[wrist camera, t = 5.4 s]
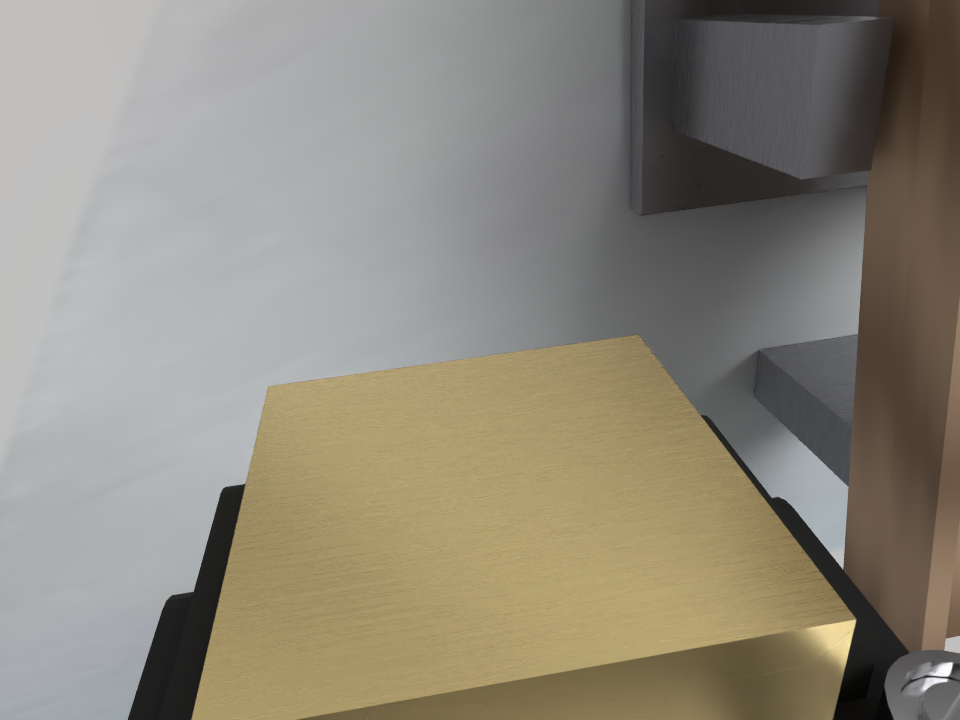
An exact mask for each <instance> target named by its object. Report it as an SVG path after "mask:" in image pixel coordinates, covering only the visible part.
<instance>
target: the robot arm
mask: <svg viewBox="0 0 960 720" xmlns="http://www.w3.org/2000/svg"><path fill="white" fill-rule="evenodd" d="M701 417H702V418H703V419H704V421H705V422H706V423H707V425H708V426H709V427H710V429H711V430H712V431H713V432H714V434H715V435H716V436H717V438H718V439H719V440H720V442H721V443H722V444H723V446H724V447H725V448H726V449H727V451H728V452H729V453H730V455H731V456H732V457H733V459H734V460H735V461H736V462H737V464H738V465H739V466H740V468H741V469H742V470H743V472H744V473H745V474H746V476H747V477H748V478H749V479H750V481H751V482H752V483H753V485H754V486H755V487H756V489H757V490H758V491H759V493H760V494H761V495H762V496H763V498H764V499H765V500H766V502H767V503H768V504H769V506H770V507H771V508H772V510H773V511H774V512H775V513H776V515H777V516H778V517H779V519H780V520H781V521H782V523H783V524H784V525H785V527H786V528H787V529H788V530H789V532H790V533H791V534H792V536H793V537H794V538H795V540H796V541H797V542H798V544H799V545H800V546H801V547H802V549H803V550H804V551H805V553H806V554H807V555H808V557H809V558H810V559H811V560H812V562H813V563H814V564H815V566H816V567H817V568H818V570H819V571H820V572H821V574H822V575H823V576H824V577H825V579H826V580H827V581H828V583H829V584H830V585H831V587H832V588H833V589H834V591H835V592H836V593H837V594H838V596H839V597H840V598H841V600H842V601H843V602H844V604H845V605H846V606H847V608H848V609H849V610H850V611H851V613H852V614H853V615H854V617H855V618H856V624H855V628H854V632H853V636H852V640H851V645H850V649H849V653H848V657H847V662H846V666H845V670H844V674H843V678H842V683H841V687H840V691H839V695H838V699H837V704H836V708H835V712H834V716H833V720H960V653H954V652H948V651H943V650H922V651H915V652H912V653H910V652H909V651H908V650H907V649H906V647H905V646H904V645H903V644H902V642H901V641H900V640H899V639H898V637H897V636H896V635H895V634H894V632H893V631H892V630H891V629H890V627H889V626H888V625H887V624H886V622H885V621H884V620H883V619H882V618H881V616H880V615H879V614H878V613H877V611H876V610H875V609H874V608H873V606H872V605H871V604H870V603H869V601H868V600H867V599H866V598H865V596H864V595H863V594H862V593H861V591H860V590H859V589H858V588H857V586H856V585H855V584H854V583H853V581H852V580H851V579H850V578H849V577H848V575H847V574H846V573H845V572H844V570H843V569H842V568H841V567H840V566H839V564H838V563H837V562H836V560H835V559H834V558H833V557H832V556H831V554H830V553H829V552H828V550H827V549H826V548H825V547H824V545H823V544H822V543H821V542H820V541H819V539H818V538H817V537H816V536H815V534H814V533H813V532H812V531H811V529H810V528H809V527H808V526H807V524H806V523H805V522H804V521H803V519H802V518H801V517H800V516H799V514H798V513H797V512H796V511H795V509H794V508H793V507H792V506H791V505H790V504H789V503H788V502H787V501H786V500H784V499H781V498H779V497H776V498H771V496H770V495H769V494H768V493H767V491H766V490H765V489H764V487H763V486H762V485H761V484H760V482H759V481H758V480H757V478H756V477H755V476H754V475H753V473H752V472H751V471H750V470H749V468H748V467H747V466H746V464H745V463H744V462H743V461H742V459H741V458H740V457H739V455H738V454H737V453H736V452H735V450H734V449H733V448H732V446H731V445H730V444H729V443H728V441H727V440H726V439H725V437H724V436H723V435H722V434H721V432H720V431H719V430H718V428H717V427H716V426H715V425H714V423H713V422H712V421H711V420H710V419H709V418H708V417H707V416H704V415H701ZM245 485H246V484H243V485H236V486H230V487H225V488H223V490H222V492H221V494H220V498H219V502H218V505H217V509H216V513H215V516H214V520H213V524H212V527H211V531H210V534H209V538H208V542H207V545H206V549H205V553H204V556H203V560H202V564H201V567H200V571H199V575H198V578H197V582H196V586H195V589H194V592H190V593H184V594H178V595H172V596H171V597H170V598H169V599H168V600H167V601H166V603H165V605H164V608H163V610H162V613H161V616H160V619H159V622H158V625H157V629H156V632H155V635H154V638H153V641H152V644H151V647H150V651H149V654H148V657H147V660H146V663H145V666H144V670H143V673H142V676H141V679H140V682H139V685H138V689H137V692H136V695H135V698H134V701H133V704H132V708H131V711H130V714H129V717H128V720H191V719H192V715H193V711H194V706H195V702H196V698H197V693H198V689H199V685H200V680H201V676H202V672H203V667H204V663H205V659H206V654H207V650H208V646H209V641H210V637H211V633H212V628H213V624H214V620H215V615H216V611H217V607H218V602H219V598H220V594H221V589H222V585H223V581H224V576H225V572H226V568H227V563H228V559H229V555H230V550H231V546H232V542H233V537H234V533H235V529H236V524H237V520H238V516H239V511H240V507H241V503H242V498H243V494H244V490H245Z"/></svg>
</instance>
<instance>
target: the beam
mask: <svg viewBox="0 0 960 720" xmlns="http://www.w3.org/2000/svg"><path fill="white" fill-rule="evenodd" d="M878 17H895V19H894V25H893V31H892V38H891V44H890V51H889V57H888V64H887V70H886V77H885V83H884V90H883V96H882V102H881V109H880V115H879V122H878V128H877V135H876V141H875V148H874V154H873V160H872V167H871V170H869V171H868V185H867V201H866V217H865V233H864V249H863V265H862V281H861V297H860V313H859V329H858V345H857V361H856V377H855V393H854V409H853V425H852V441H851V457H850V473H849V489H848V505H847V521H846V537H845V553H844V568H843V570H844V572H845V573H846V574H847V575H848V577H849V578H850V579H851V580H852V581H853V583H854V584H855V585H856V586H857V588H858V589H859V590H860V591H861V593H862V594H863V595H864V596H865V598H866V599H867V600H868V601H869V603H870V604H871V605H872V606H873V608H874V609H875V610H876V611H877V613H878V614H879V615H880V616H881V618H882V619H883V620H884V621H885V622H886V624H887V625H888V626H889V627H890V629H891V630H892V631H893V632H894V634H895V635H896V636H897V637H898V639H899V640H900V641H901V642H902V644H903V645H904V646H905V647H906V649H907V650H908V651H909V652H910V653H912V652H915V651H922V650H943V651H944V647H945V639H946V638H950V637H955V636H960V0H879V10H878Z"/></svg>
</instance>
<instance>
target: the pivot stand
mask: <svg viewBox="0 0 960 720" xmlns="http://www.w3.org/2000/svg"><path fill="white" fill-rule="evenodd" d="M878 10H879V0H632V60H631V197H630V208H632V209H633V210H634V211H636V212H637V213H639V214H640V215H649V214H656V213H664V212H671V211H679V210H686V209H694V208H701V207H709V206H716V205H724V204H731V203H739V202H746V201H754V200H761V199H769V198H776V197H784V196H791V195H799V194H806V193H814V192H821V191H829V190H836V189H844V188H851V187H858V186H866V185H868V171H869V170H871V167H872V160H873V154H874V148H875V141H876V135H877V128H878V122H879V115H880V109H881V102H882V96H883V90H884V83H885V77H886V70H887V64H888V57H889V51H890V44H891V38H892V31H893V25H894V19H895V17H878Z"/></svg>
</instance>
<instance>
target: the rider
mask: <svg viewBox="0 0 960 720" xmlns="http://www.w3.org/2000/svg"><path fill="white" fill-rule="evenodd" d="M855 624H856V618H855V617H854V615H853V614H852V613H851V611H850V610H849V609H848V608H847V606H846V605H845V604H844V602H843V601H842V600H841V598H840V597H839V596H838V594H837V593H836V592H835V591H834V589H833V588H832V587H831V585H830V584H829V583H828V581H827V580H826V579H825V577H824V576H823V575H822V574H821V572H820V571H819V570H818V568H817V567H816V566H815V564H814V563H813V562H812V560H811V559H810V558H809V557H808V555H807V554H806V553H805V551H804V550H803V549H802V547H801V546H800V545H799V544H798V542H797V541H796V540H795V538H794V537H793V536H792V534H791V533H790V532H789V530H788V529H787V528H786V527H785V525H784V524H783V523H782V521H781V520H780V519H779V517H778V516H777V515H776V513H775V512H774V511H773V510H772V508H771V507H770V506H769V504H768V503H767V502H766V500H765V499H764V498H763V496H762V495H761V494H760V493H759V491H758V490H757V489H756V487H755V486H754V485H753V483H752V482H751V481H750V479H749V478H748V477H747V476H746V474H745V473H744V472H743V470H742V469H741V468H740V466H739V465H738V464H737V462H736V461H735V460H734V459H733V457H732V456H731V455H730V453H729V452H728V451H727V449H726V448H725V447H724V446H723V444H722V443H721V442H720V440H719V439H718V438H717V436H716V435H715V434H714V432H713V431H712V430H711V429H710V427H709V426H708V425H707V423H706V422H705V421H704V419H703V418H702V417H701V415H700V414H699V413H698V412H697V410H696V409H695V408H694V406H693V405H692V404H691V402H690V401H689V400H688V398H687V397H686V396H685V395H684V393H683V392H682V391H681V389H680V388H679V387H678V385H677V384H676V383H675V381H674V380H673V379H672V378H671V376H670V375H669V374H668V372H667V371H666V370H665V368H664V367H663V366H662V364H661V363H660V362H659V361H658V359H657V358H656V357H655V355H654V354H653V353H652V351H651V350H650V349H649V348H648V346H647V345H646V344H645V342H644V341H643V340H642V338H641V337H640V336H639V335H634V336H627V337H619V338H612V339H605V340H598V341H591V342H583V343H576V344H569V345H562V346H555V347H548V348H540V349H533V350H526V351H519V352H512V353H505V354H497V355H490V356H483V357H476V358H469V359H461V360H454V361H447V362H440V363H433V364H426V365H418V366H411V367H404V368H397V369H390V370H383V371H375V372H368V373H361V374H354V375H347V376H339V377H332V378H325V379H318V380H311V381H304V382H296V383H289V384H282V385H275V386H268V390H267V394H266V398H265V403H264V407H263V411H262V416H261V420H260V424H259V429H258V433H257V437H256V442H255V446H254V450H253V455H252V459H251V463H250V468H249V472H248V477H247V481H246V485H245V490H244V494H243V498H242V503H241V507H240V511H239V516H238V520H237V524H236V529H235V533H234V537H233V542H232V546H231V550H230V555H229V559H228V563H227V568H226V572H225V576H224V581H223V585H222V589H221V594H220V598H219V602H218V607H217V611H216V615H215V620H214V624H213V628H212V633H211V637H210V641H209V646H208V650H207V654H206V659H205V663H204V667H203V672H202V676H201V680H200V685H199V689H198V693H197V698H196V702H195V706H194V711H193V715H192V719H191V720H833V716H834V712H835V708H836V704H837V699H838V695H839V691H840V687H841V683H842V678H843V674H844V670H845V666H846V662H847V657H848V653H849V649H850V645H851V640H852V636H853V632H854V628H855Z"/></svg>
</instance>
